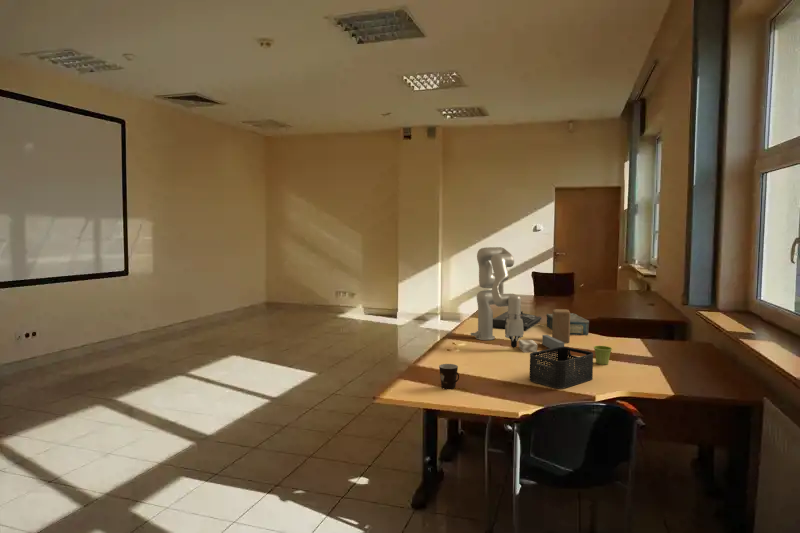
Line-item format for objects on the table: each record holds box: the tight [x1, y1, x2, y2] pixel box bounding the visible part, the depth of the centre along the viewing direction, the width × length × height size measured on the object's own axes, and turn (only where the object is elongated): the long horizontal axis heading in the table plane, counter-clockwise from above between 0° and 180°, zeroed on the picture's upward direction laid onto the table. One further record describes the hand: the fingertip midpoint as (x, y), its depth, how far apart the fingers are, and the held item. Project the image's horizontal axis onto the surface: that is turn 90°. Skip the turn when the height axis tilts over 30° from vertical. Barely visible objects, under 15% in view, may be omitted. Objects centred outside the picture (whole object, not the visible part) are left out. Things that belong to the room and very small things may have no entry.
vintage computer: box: [493, 310, 543, 332], centre depth 402 cm, size 43×29×8 cm
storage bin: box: [529, 346, 594, 389], centre depth 262 cm, size 29×19×13 cm
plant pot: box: [593, 345, 613, 366], centre depth 292 cm, size 9×9×9 cm
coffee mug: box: [438, 363, 460, 390], centre depth 249 cm, size 12×9×10 cm
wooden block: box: [551, 308, 571, 344], centre depth 345 cm, size 10×10×20 cm
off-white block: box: [518, 339, 538, 353], centre depth 323 cm, size 8×12×5 cm, turn 0°
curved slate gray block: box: [541, 334, 565, 351], centre depth 326 cm, size 3×22×6 cm, turn 11°
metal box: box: [546, 312, 590, 336], centre depth 379 cm, size 21×32×10 cm, turn 0°
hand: (513, 347), depth 321 cm, fingers closed
